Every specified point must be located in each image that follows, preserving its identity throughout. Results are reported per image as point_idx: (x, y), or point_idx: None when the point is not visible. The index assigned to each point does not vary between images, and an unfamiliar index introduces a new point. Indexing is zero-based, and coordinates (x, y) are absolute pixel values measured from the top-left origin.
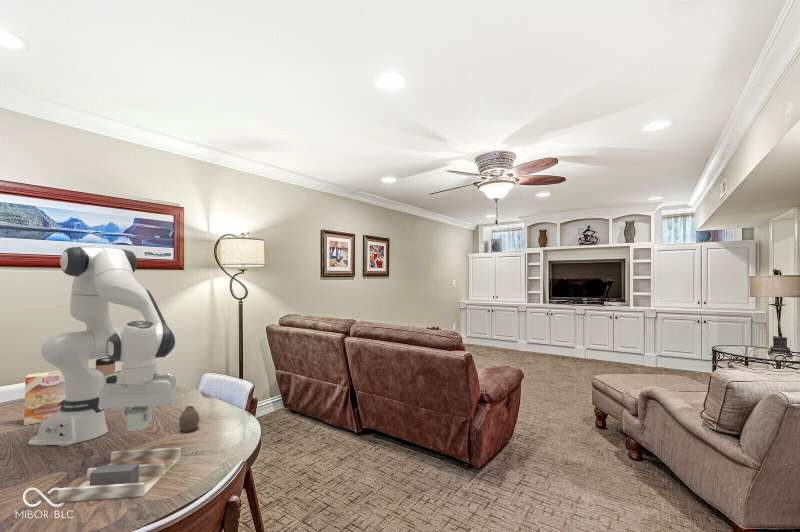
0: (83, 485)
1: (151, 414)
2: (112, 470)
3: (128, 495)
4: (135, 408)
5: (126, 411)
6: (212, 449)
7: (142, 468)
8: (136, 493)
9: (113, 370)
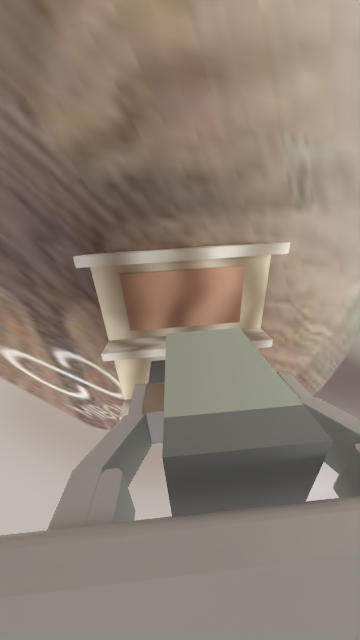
0: (121, 363)
1: (307, 400)
2: None
3: None
4: (218, 503)
5: (124, 465)
6: (348, 162)
7: None
8: None
9: None
